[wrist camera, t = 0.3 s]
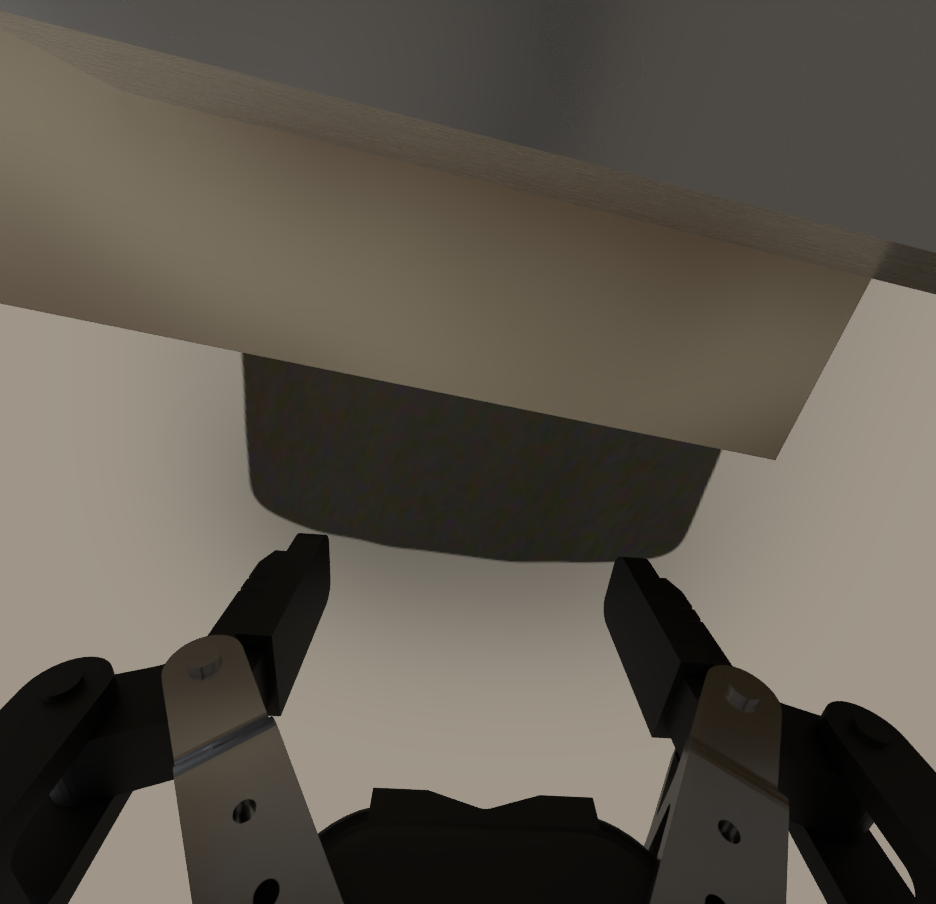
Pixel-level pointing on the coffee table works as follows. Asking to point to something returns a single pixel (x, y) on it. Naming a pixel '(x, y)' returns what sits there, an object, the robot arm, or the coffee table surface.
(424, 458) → the coffee table surface
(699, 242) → the birch stand
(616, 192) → the grey long bar
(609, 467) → the coffee table surface
